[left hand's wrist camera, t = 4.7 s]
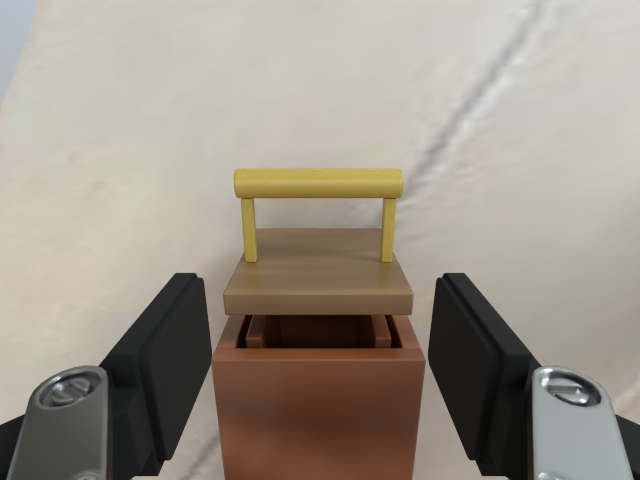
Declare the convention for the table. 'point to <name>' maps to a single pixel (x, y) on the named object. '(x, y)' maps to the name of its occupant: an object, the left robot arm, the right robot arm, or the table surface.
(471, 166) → the table surface
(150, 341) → the left robot arm
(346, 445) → the wooden storage bin
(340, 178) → the drawer
